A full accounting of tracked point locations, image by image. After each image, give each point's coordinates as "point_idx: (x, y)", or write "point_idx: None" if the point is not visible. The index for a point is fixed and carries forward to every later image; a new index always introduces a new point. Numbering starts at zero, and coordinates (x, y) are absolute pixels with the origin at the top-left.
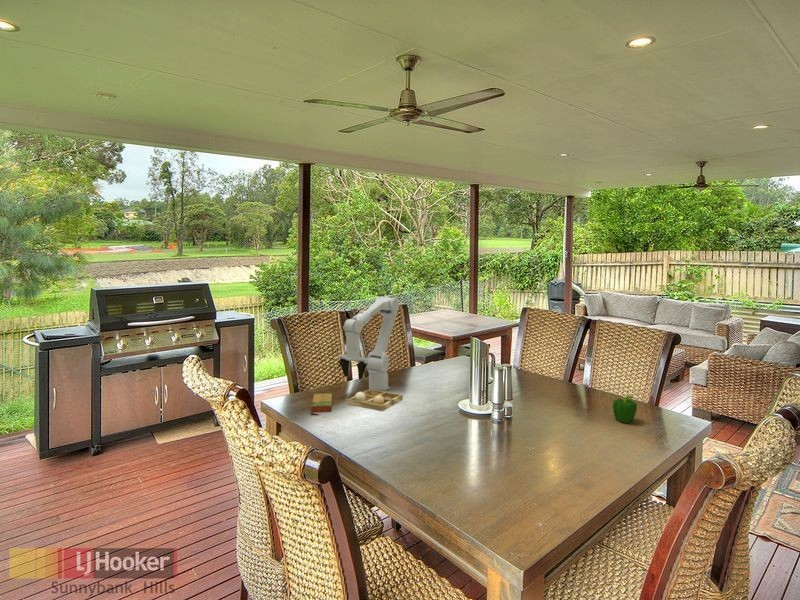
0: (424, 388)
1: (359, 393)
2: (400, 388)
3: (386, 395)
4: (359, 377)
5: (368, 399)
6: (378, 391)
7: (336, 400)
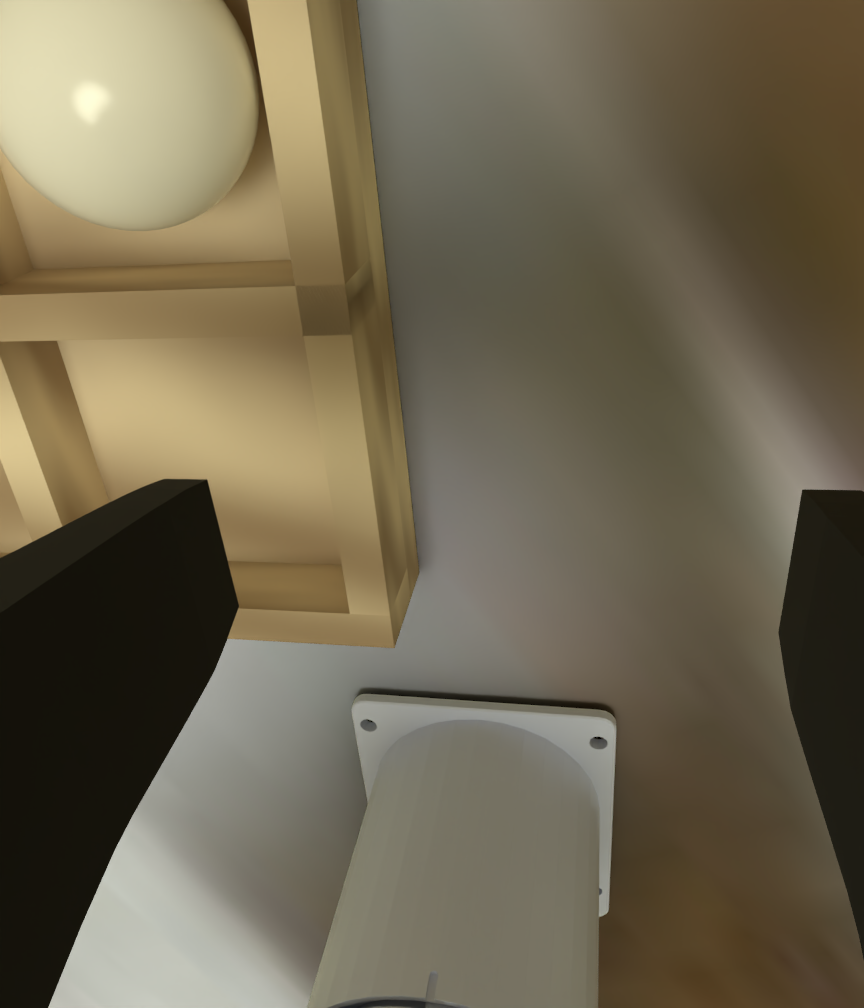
0: (108, 958)
1: (13, 25)
2: (294, 909)
3: None
4: (130, 493)
5: (131, 274)
6: None
7: (854, 34)
